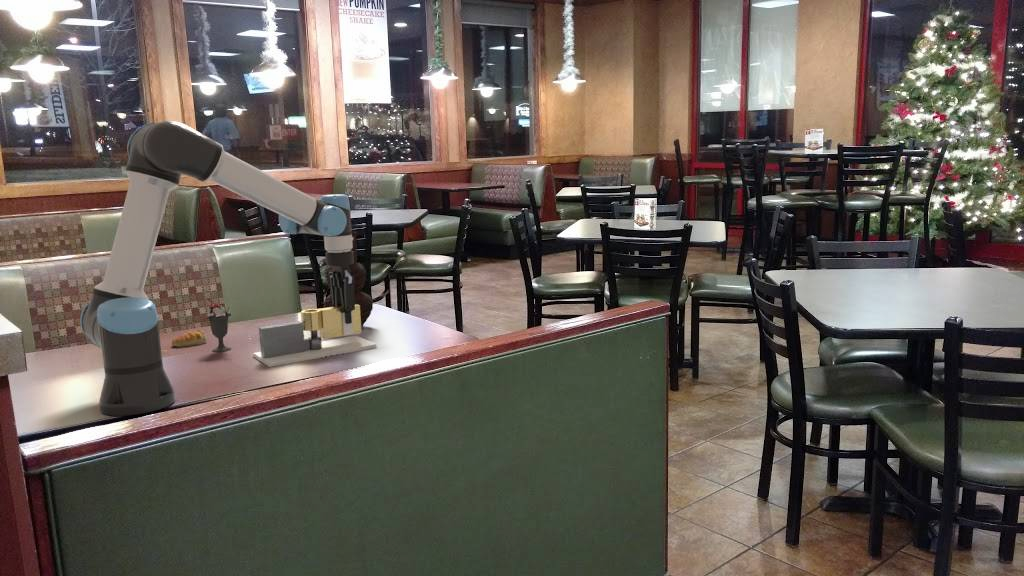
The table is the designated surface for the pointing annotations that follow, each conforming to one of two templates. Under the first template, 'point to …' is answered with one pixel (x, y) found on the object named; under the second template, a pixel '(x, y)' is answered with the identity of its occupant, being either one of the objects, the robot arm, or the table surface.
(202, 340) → the pastry
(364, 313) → the vase
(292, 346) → the grey upright slab
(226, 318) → the sundae
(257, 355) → the jig board
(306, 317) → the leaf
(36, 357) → the table surface
